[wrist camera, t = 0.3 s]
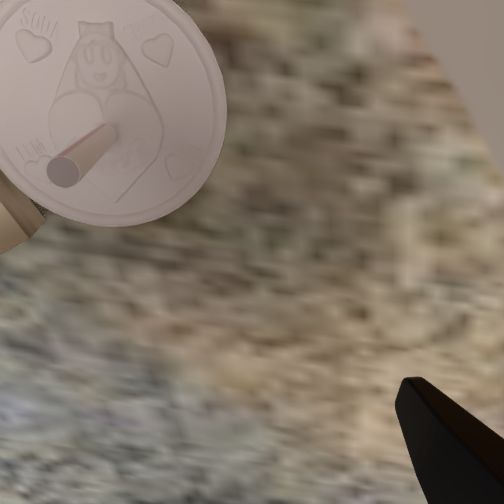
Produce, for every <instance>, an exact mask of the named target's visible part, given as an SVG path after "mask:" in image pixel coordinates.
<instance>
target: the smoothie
mask: <svg viewBox="0 0 504 504" xmlns="http://www.w3.org/2000/svg"><path fill="white" fill-rule="evenodd" d="M226 125H227V101H226V93H225V87H224V81H223V76H222V73H221V71H220V68H219V66H218V63H217V61H216V58H215V56H214V53H213V50H212V48H211V46H210V44H209V43H208V41H207V40H206V38H205V37H204V35H203V34H202V33H201V31H200V30H199V28H198V27H197V25H196V24H195V23H194V21H193V20H192V18H191V17H190V16H189V15H188V14H187V13H186V12H184V11H183V10H182V9H181V8H180V7H179V6H178V5H177V4H176V3H175V2H174V1H172V0H0V169H1V170H2V172H3V173H4V174H5V175H6V176H7V177H8V179H9V180H10V181H11V182H12V183H13V184H14V185H15V186H16V187H17V188H18V189H20V190H21V191H22V192H23V193H24V194H26V195H27V196H28V197H29V198H31V199H32V200H34V201H35V202H36V203H38V204H39V205H41V206H43V207H45V208H46V209H48V210H50V211H52V212H54V213H56V214H58V215H60V216H63V217H65V218H68V219H71V220H73V221H77V222H81V223H84V224H89V225H95V226H104V227H124V226H133V225H139V224H143V223H147V222H150V221H153V220H156V219H158V218H161V217H163V216H165V215H167V214H169V213H171V212H173V211H174V210H176V209H177V208H179V207H180V206H182V205H183V204H184V203H186V202H187V201H188V200H189V199H190V198H191V197H193V196H194V195H195V194H196V193H197V191H198V190H199V189H200V188H201V187H202V186H203V184H204V183H205V182H206V180H207V179H208V177H209V176H210V174H211V172H212V171H213V169H214V167H215V165H216V163H217V160H218V158H219V155H220V153H221V150H222V146H223V142H224V138H225V132H226Z"/></svg>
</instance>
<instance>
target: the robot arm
mask: <svg viewBox="0 0 504 504" xmlns="http://www.w3.org/2000/svg"><path fill="white" fill-rule="evenodd" d="M395 410H396V414H397V417H398V420H399V423H400V426H401V429H402V433H403V436H404V439H405V442H406V445H407V448H408V451H409V455H410V458H411V461H412V464H413V467H414V470H415V473H416V476H417V478H418V481H419V483H420V485H421V488H422V490H423V493H424V495H425V497H426V499H427V502H428V504H504V439H503V438H502V437H501V436H499V435H498V434H497V433H495V432H494V431H493V430H491V429H490V428H489V427H487V426H486V425H485V424H483V423H482V422H481V421H480V420H478V419H477V418H476V417H474V416H473V415H472V414H470V413H469V412H468V411H466V410H465V409H464V408H462V407H461V406H460V405H458V404H457V403H456V402H454V401H453V400H452V399H450V398H449V397H448V396H447V395H445V394H444V393H443V392H441V391H440V390H439V389H437V388H436V387H435V386H433V385H432V384H431V383H429V382H428V381H427V380H425V379H424V378H422V377H406V378H404V379H403V380H402V382H401V385H400V388H399V391H398V394H397V397H396V400H395Z"/></svg>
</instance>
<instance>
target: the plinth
mask: <svg viewBox="0 0 504 504" xmlns="http://www.w3.org/2000/svg"><path fill="white" fill-rule="evenodd" d="M45 221H46V220H45V218H44V217H43V216H42V214H41V213H40V212H39V210H38V209H37V208H36V206H35V205H34V204H33V202H32V201H31V200H30V198H29V197H28V196H27V195H26V194H24V193H23V192H22V191H21V190H20V189H18V188H17V187H16V186H15V185H14V184H13V183H12V182H11V181H10V180H9V179H8V177H7V176H6V175H5V174H4V173H3V172H2V170H1V169H0V254H1V253H3V252H5V251H7V250H9V249H11V248H12V247H14V246H16V245H18V244H20V243H22V242H24V241H26V240H28V239H30V238H31V236H32V235H33V234H34V233H35V232H36V231H37V230H38V229H39V228H40V226H41V225H42V224H43V223H44V222H45Z"/></svg>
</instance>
